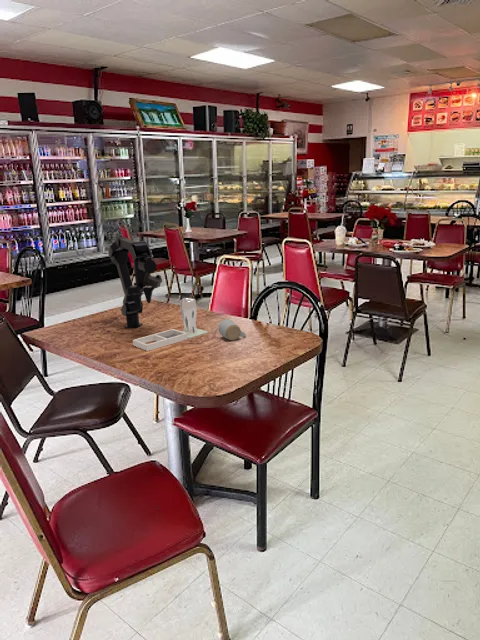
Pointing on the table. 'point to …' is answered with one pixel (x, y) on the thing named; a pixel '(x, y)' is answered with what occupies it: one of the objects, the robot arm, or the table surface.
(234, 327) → the ceramic mug
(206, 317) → the table surface
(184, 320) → the shiny metal tumbler
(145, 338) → the white divided tray
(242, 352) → the table surface
